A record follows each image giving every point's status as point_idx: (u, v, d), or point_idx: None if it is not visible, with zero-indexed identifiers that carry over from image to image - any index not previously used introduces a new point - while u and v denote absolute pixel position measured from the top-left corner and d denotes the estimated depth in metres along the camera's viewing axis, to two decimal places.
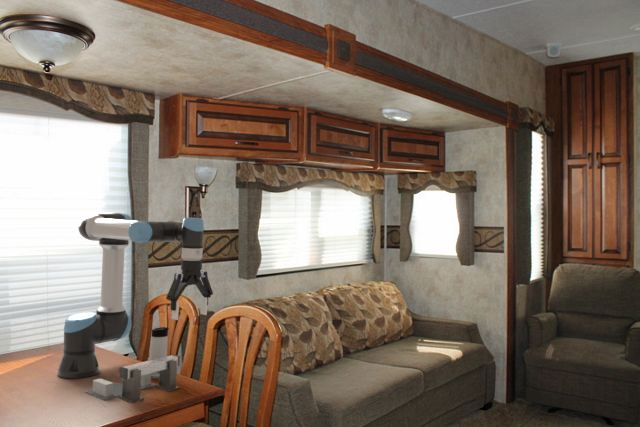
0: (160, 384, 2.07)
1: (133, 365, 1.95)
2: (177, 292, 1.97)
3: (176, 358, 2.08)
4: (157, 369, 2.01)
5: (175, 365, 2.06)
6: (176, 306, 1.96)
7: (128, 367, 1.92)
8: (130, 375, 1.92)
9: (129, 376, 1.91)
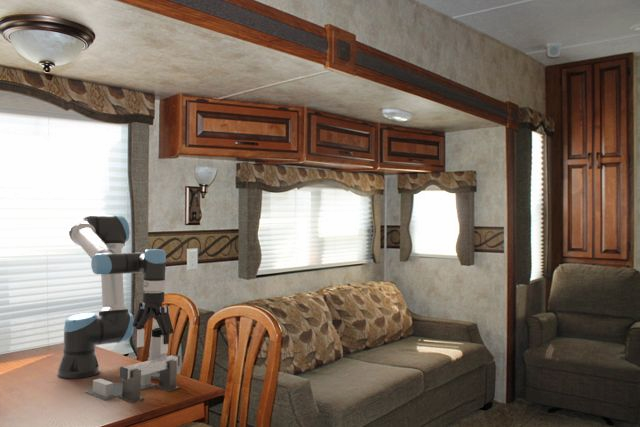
0: (160, 384, 2.07)
1: (133, 365, 1.95)
2: None
3: (176, 358, 2.08)
4: (157, 369, 2.01)
5: (175, 365, 2.06)
6: None
7: (128, 367, 1.92)
8: (130, 375, 1.92)
9: (129, 376, 1.91)
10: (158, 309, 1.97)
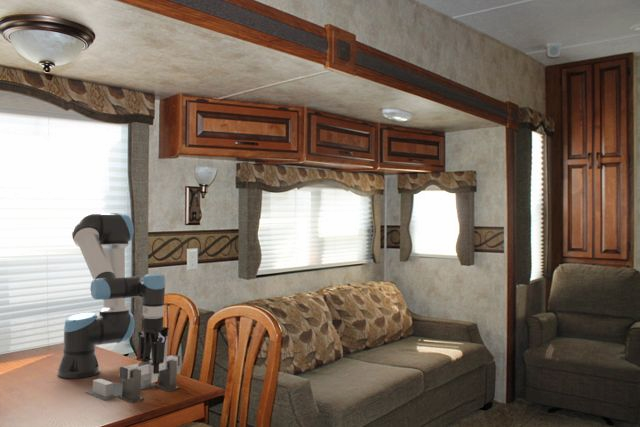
0: (160, 384, 2.07)
1: (133, 365, 1.95)
2: None
3: (176, 358, 2.08)
4: None
5: (175, 365, 2.06)
6: None
7: (128, 367, 1.92)
8: (130, 375, 1.92)
9: (129, 376, 1.91)
10: (156, 336, 1.98)
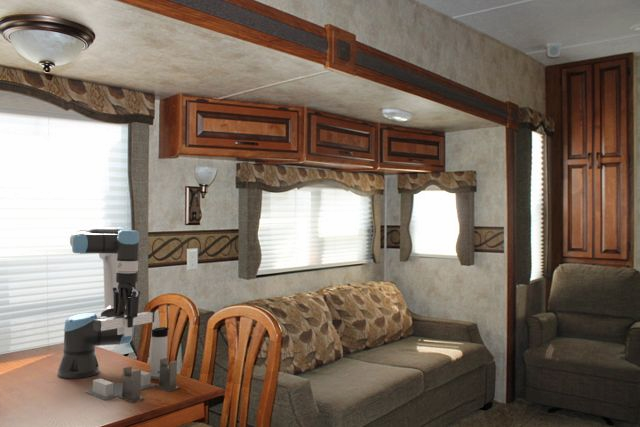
0: (160, 384, 2.07)
1: (107, 318, 1.98)
2: None
3: (151, 314, 2.11)
4: None
5: (175, 365, 2.06)
6: None
7: (102, 320, 1.96)
8: (103, 327, 1.95)
9: (102, 328, 1.94)
10: (130, 290, 2.01)
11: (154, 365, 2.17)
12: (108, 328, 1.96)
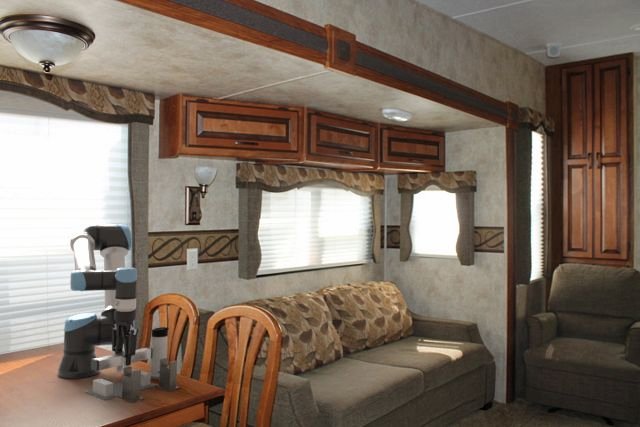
0: (160, 384, 2.07)
1: (105, 357, 1.98)
2: None
3: (149, 351, 2.11)
4: None
5: (175, 365, 2.06)
6: None
7: (99, 359, 1.96)
8: (101, 367, 1.95)
9: (100, 368, 1.94)
10: (128, 328, 2.01)
11: (154, 365, 2.17)
12: (106, 367, 1.96)
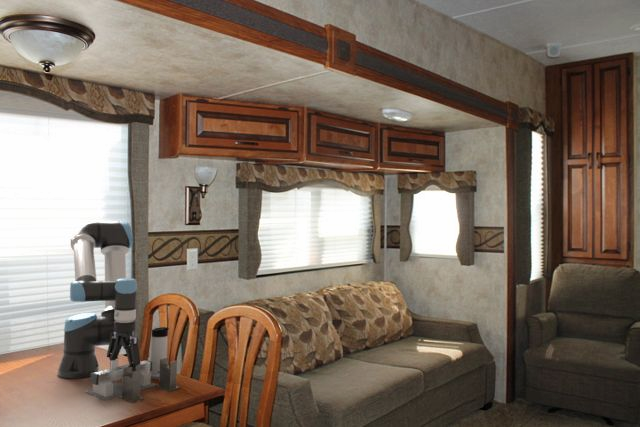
0: (160, 384, 2.07)
1: (104, 371, 1.98)
2: None
3: (148, 363, 2.11)
4: None
5: (175, 365, 2.06)
6: None
7: (99, 373, 1.96)
8: (101, 381, 1.95)
9: (100, 382, 1.94)
10: (128, 339, 2.01)
11: (154, 365, 2.17)
12: (105, 381, 1.96)
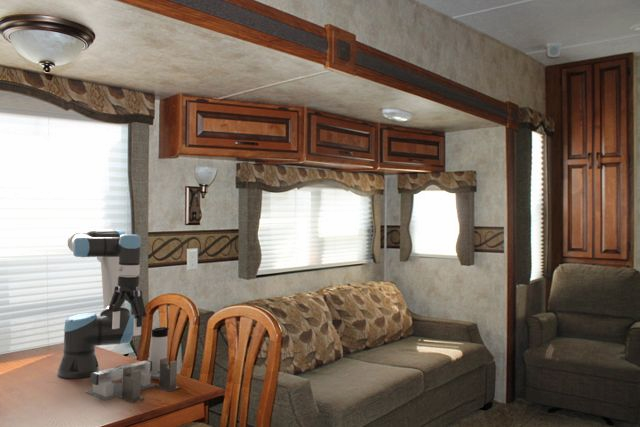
0: (160, 384, 2.07)
1: (104, 371, 1.98)
2: None
3: (148, 363, 2.11)
4: None
5: (175, 365, 2.06)
6: None
7: (99, 373, 1.96)
8: (101, 381, 1.95)
9: (100, 382, 1.94)
10: (132, 293, 2.03)
11: (154, 365, 2.17)
12: (105, 381, 1.96)
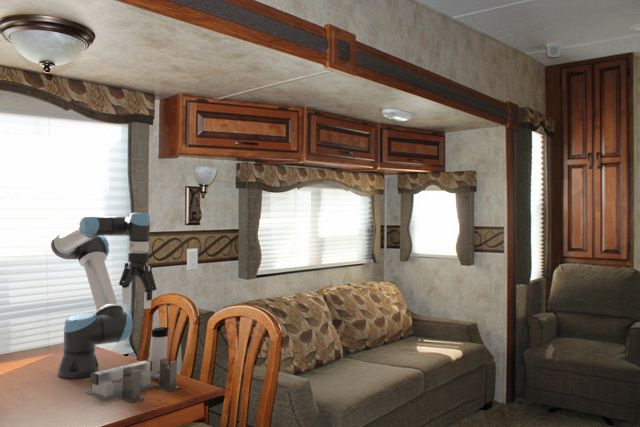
0: (160, 384, 2.07)
1: (104, 371, 1.98)
2: None
3: (148, 363, 2.11)
4: None
5: (175, 365, 2.06)
6: None
7: (99, 373, 1.96)
8: (101, 381, 1.95)
9: (100, 382, 1.94)
10: (142, 268, 2.13)
11: (154, 365, 2.17)
12: (105, 381, 1.96)
